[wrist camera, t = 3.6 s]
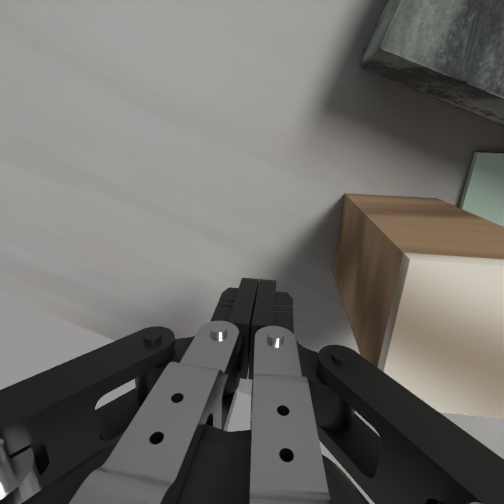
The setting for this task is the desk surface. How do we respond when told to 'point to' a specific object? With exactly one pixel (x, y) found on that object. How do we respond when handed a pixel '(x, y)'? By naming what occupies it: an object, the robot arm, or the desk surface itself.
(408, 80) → the stone block
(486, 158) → the sage mat
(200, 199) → the desk surface
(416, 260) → the walnut block
